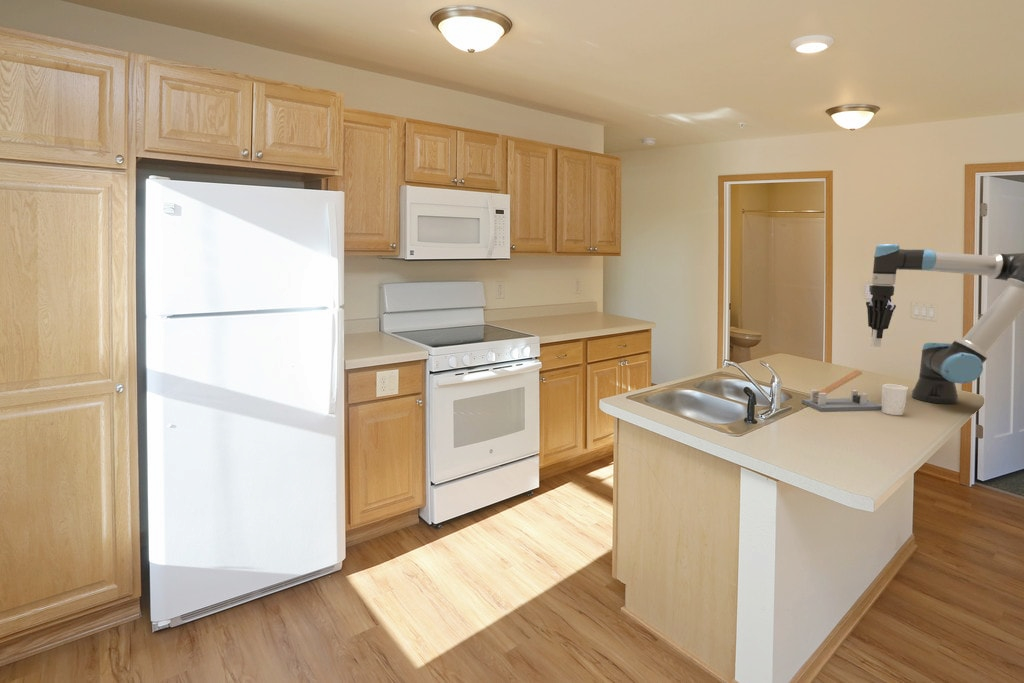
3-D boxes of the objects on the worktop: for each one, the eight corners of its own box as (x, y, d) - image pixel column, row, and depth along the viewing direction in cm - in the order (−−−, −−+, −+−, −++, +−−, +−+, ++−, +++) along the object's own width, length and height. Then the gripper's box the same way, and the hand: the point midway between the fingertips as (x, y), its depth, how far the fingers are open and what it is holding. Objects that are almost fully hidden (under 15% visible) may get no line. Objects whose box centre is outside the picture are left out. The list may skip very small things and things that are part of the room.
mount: (861, 401, 228) (863, 386, 227) (883, 410, 216) (885, 394, 215) (801, 402, 225) (803, 387, 224) (821, 411, 214) (822, 395, 213)
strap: (857, 372, 221) (855, 369, 221) (862, 374, 218) (861, 371, 218) (814, 397, 221) (813, 394, 221) (819, 399, 218) (818, 396, 217)
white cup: (908, 416, 208) (912, 389, 207) (884, 415, 210) (887, 388, 208) (899, 410, 216) (902, 384, 214) (875, 409, 217) (878, 383, 216)
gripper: (861, 283, 225) (855, 343, 229) (886, 286, 212) (878, 349, 216) (879, 284, 226) (872, 343, 230) (905, 286, 213) (897, 349, 217)
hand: (875, 346), depth 223 cm, fingers closed
